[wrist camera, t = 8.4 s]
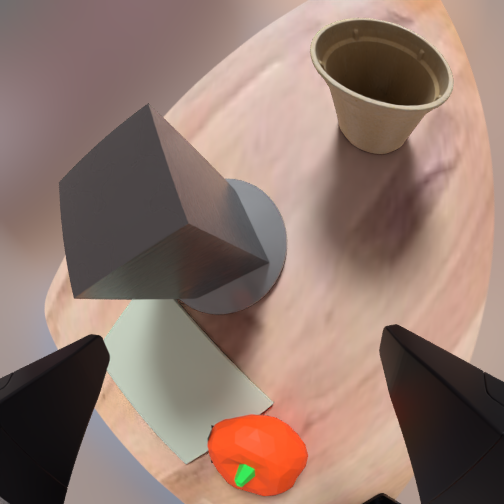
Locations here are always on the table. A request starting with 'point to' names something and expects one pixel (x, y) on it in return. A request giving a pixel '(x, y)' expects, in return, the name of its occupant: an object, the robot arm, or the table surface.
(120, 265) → the dark grey square block
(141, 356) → the rubber mat
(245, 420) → the pumpkin
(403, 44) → the flower pot
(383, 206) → the table surface
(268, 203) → the slate coaster
